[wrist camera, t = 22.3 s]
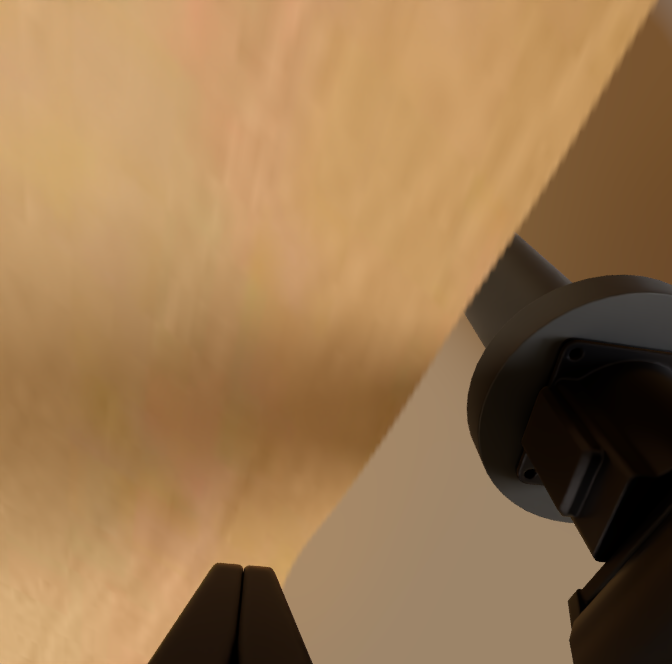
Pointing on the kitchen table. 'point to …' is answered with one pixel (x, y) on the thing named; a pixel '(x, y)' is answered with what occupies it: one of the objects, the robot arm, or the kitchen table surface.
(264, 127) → the kitchen table surface
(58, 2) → the kitchen table surface
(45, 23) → the kitchen table surface
